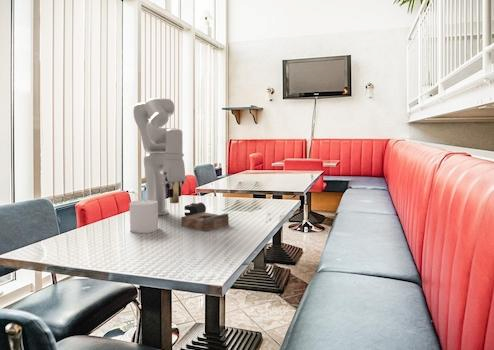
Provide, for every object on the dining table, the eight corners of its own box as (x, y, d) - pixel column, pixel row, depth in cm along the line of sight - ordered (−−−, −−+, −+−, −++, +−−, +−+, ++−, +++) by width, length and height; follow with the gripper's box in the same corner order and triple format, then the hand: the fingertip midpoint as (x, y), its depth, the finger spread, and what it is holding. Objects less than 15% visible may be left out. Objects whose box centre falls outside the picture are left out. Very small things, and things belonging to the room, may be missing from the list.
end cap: (197, 219, 186) (196, 206, 185) (184, 218, 188) (183, 205, 187) (206, 215, 195) (206, 202, 194) (193, 214, 197) (193, 201, 197)
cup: (163, 227, 169) (162, 201, 168) (148, 234, 158) (147, 205, 157) (140, 225, 173) (140, 199, 172) (124, 231, 162) (123, 203, 161)
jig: (181, 225, 173) (181, 214, 172) (203, 220, 183) (203, 209, 183) (206, 231, 163) (206, 219, 162) (228, 225, 173) (228, 214, 173)
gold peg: (168, 202, 175) (167, 180, 173) (174, 201, 178) (174, 179, 176) (173, 203, 172) (173, 181, 171) (180, 202, 175) (180, 180, 174)
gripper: (182, 155, 181) (182, 193, 183) (153, 157, 168) (154, 198, 171) (193, 156, 176) (193, 195, 179) (164, 158, 163) (164, 200, 166)
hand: (174, 196), depth 175 cm, fingers closed on gold peg, 4 cm apart
